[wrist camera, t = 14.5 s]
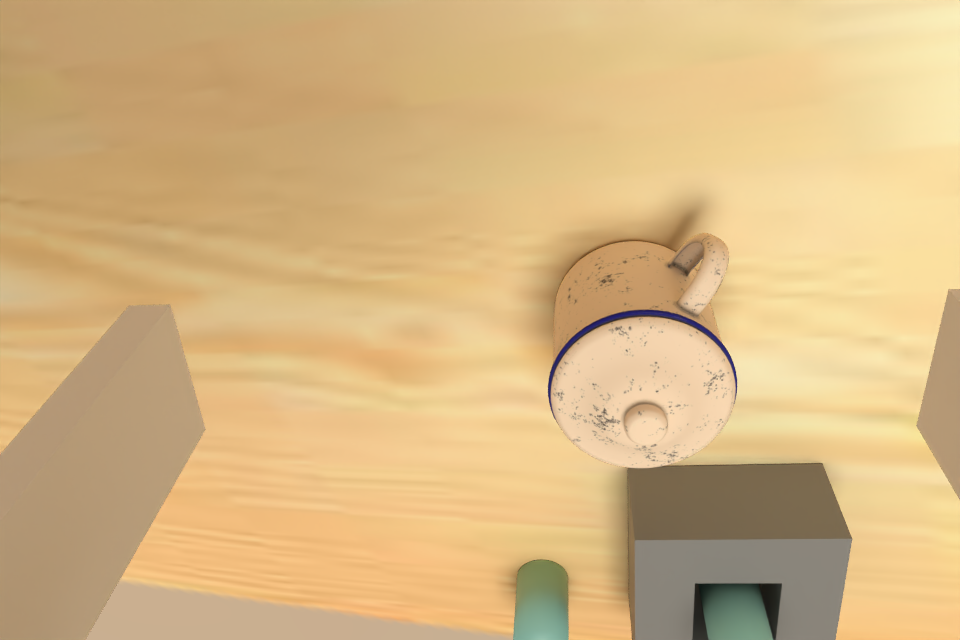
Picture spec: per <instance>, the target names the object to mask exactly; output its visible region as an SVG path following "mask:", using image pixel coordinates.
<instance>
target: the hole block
mask: <svg viewBox="0 0 960 640" xmlns="http://www.w3.org/2000/svg"><path fill="white" fill-rule="evenodd" d="M851 542H852V537H851V535H850V532H849V530H848V527H847V525H846V522H845V520H844V517H843V515H842V512H841V510H840V507H839V505H838V502H837V500H836V497H835V494H834V492H833V489H832V487H831V484H830V482H829V479H828V477H827V474H826V472H825V469H824V467H823V464H767V465H710V466H660V467H653V468H628V569H629V607H630V619H631V631H632V640H708V634H707V629H706V623H705V618H704V613H703V607H702V602H701V596H700V591H699V585H698V583H758V584H759V588H760V591H761V595H762V599H763V603H764V607H765V610H766V614H767V618H768V622H769V626H770V629H771V633H772V637H773V640H835V639H836V633H837V627H838V621H839V615H840V609H841V603H842V597H843V591H844V585H845V579H846V573H847V566H848V560H849V554H850V548H851Z"/></svg>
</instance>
